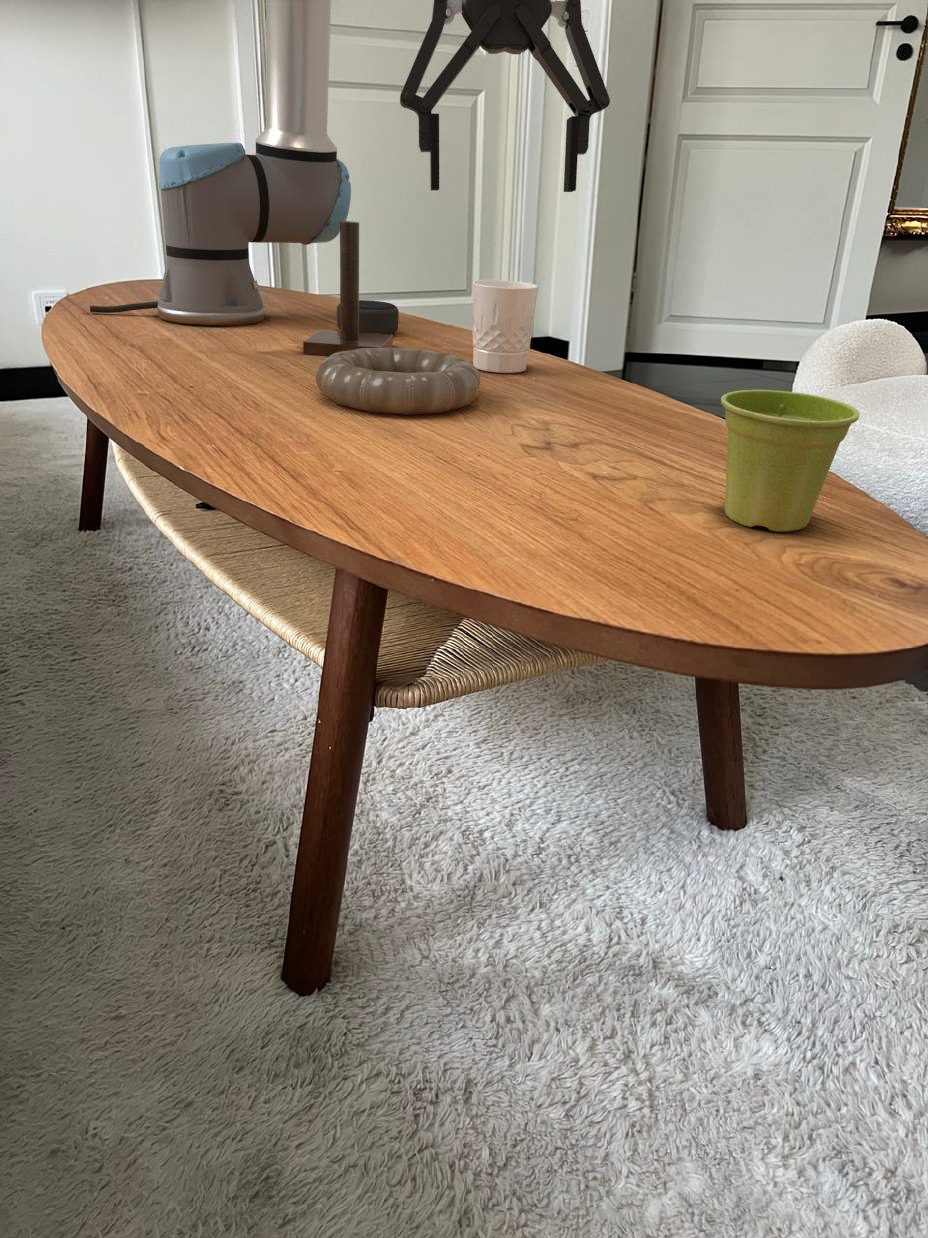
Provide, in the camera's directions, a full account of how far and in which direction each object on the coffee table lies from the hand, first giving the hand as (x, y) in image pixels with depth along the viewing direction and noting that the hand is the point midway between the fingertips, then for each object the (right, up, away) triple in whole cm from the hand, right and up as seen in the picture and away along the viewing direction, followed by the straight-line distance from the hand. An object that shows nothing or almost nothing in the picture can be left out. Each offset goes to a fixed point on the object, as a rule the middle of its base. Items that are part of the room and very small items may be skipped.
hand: (502, 190), depth 90 cm
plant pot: (+19, -36, -22) cm, 46 cm away
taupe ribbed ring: (-11, -18, +5) cm, 21 cm away
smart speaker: (-18, -1, +41) cm, 45 cm away
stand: (-19, -7, +28) cm, 35 cm away
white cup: (+1, -12, +23) cm, 26 cm away
